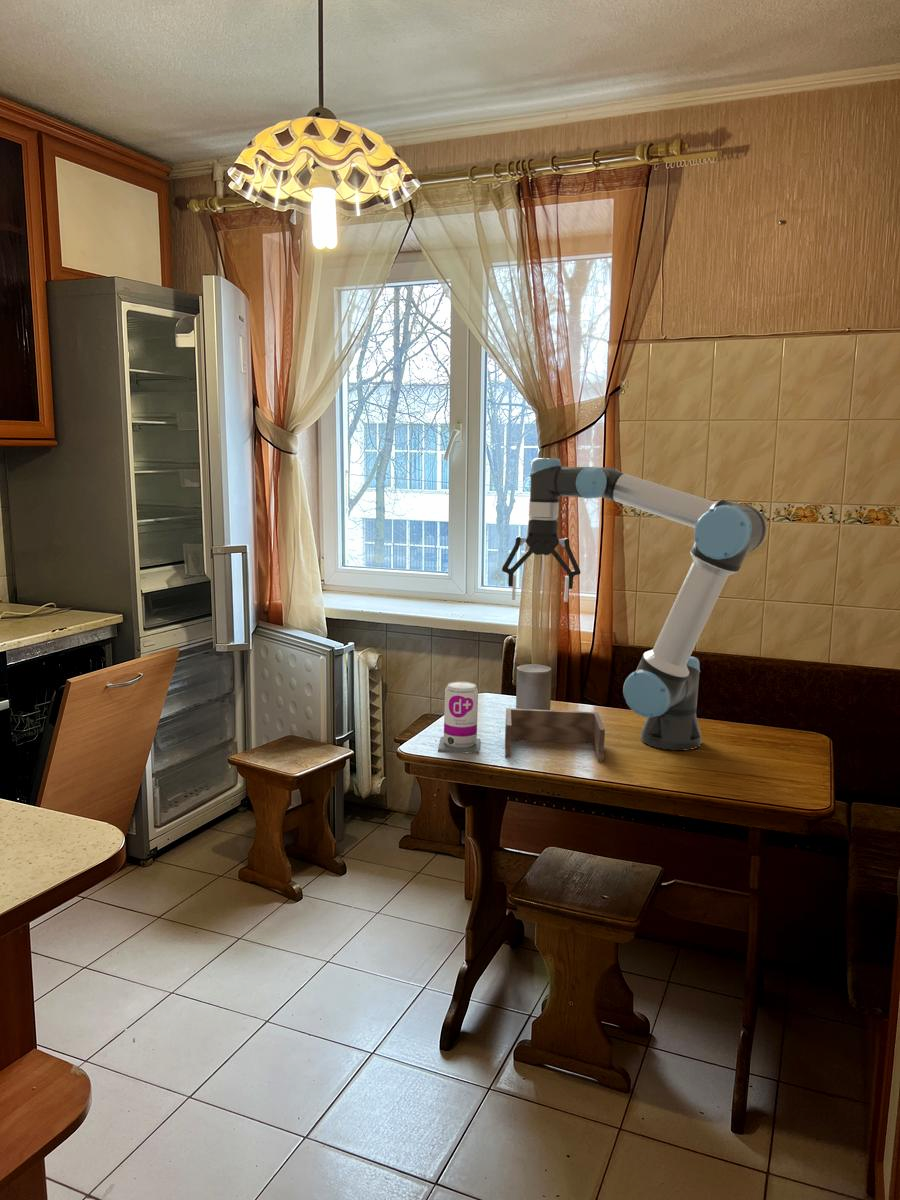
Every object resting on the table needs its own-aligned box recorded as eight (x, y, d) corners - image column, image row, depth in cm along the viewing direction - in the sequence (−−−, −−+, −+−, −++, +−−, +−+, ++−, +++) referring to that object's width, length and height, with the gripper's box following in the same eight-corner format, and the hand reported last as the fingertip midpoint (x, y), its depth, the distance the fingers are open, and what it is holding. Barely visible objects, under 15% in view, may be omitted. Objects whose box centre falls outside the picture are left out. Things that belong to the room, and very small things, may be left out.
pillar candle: (546, 710, 257) (548, 659, 255) (552, 720, 247) (554, 667, 245) (513, 710, 256) (514, 659, 254) (517, 720, 247) (519, 667, 244)
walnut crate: (596, 742, 229) (598, 712, 228) (603, 762, 214) (605, 729, 213) (504, 738, 230) (506, 708, 229) (505, 757, 215) (506, 725, 214)
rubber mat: (480, 740, 227) (480, 738, 227) (479, 753, 218) (479, 751, 217) (440, 738, 228) (440, 736, 228) (438, 751, 218) (438, 749, 218)
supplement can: (474, 750, 218) (476, 690, 216) (440, 747, 219) (442, 687, 217) (478, 740, 226) (480, 682, 224) (446, 737, 227) (447, 680, 225)
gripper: (590, 519, 233) (586, 599, 237) (495, 516, 235) (492, 596, 238) (593, 521, 226) (589, 604, 229) (494, 517, 227) (491, 600, 231)
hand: (539, 600), depth 234 cm, fingers open, 13 cm apart
